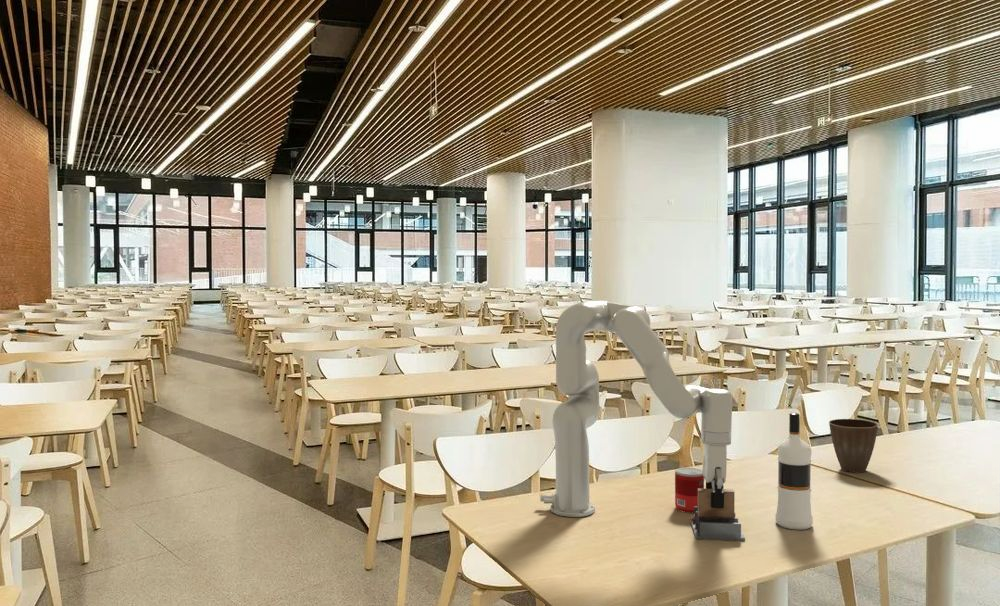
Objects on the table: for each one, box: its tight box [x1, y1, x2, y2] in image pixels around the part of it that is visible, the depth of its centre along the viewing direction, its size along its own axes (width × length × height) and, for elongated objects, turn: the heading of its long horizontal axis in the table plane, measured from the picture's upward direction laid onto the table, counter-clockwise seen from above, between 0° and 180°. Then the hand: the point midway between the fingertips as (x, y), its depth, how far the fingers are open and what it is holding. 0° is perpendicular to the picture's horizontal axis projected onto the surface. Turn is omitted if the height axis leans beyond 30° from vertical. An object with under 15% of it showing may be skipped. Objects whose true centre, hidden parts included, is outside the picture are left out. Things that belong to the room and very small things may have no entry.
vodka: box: [775, 412, 814, 531], centre depth 201 cm, size 9×9×30 cm
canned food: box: [674, 467, 705, 514], centre depth 216 cm, size 8×8×11 cm
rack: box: [689, 506, 746, 542], centre depth 198 cm, size 12×13×4 cm
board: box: [698, 488, 735, 517], centre depth 198 cm, size 9×2×10 cm, turn 82°
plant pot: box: [828, 418, 879, 473], centre depth 255 cm, size 15×15×16 cm
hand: (714, 501), depth 198 cm, fingers open, 9 cm apart
